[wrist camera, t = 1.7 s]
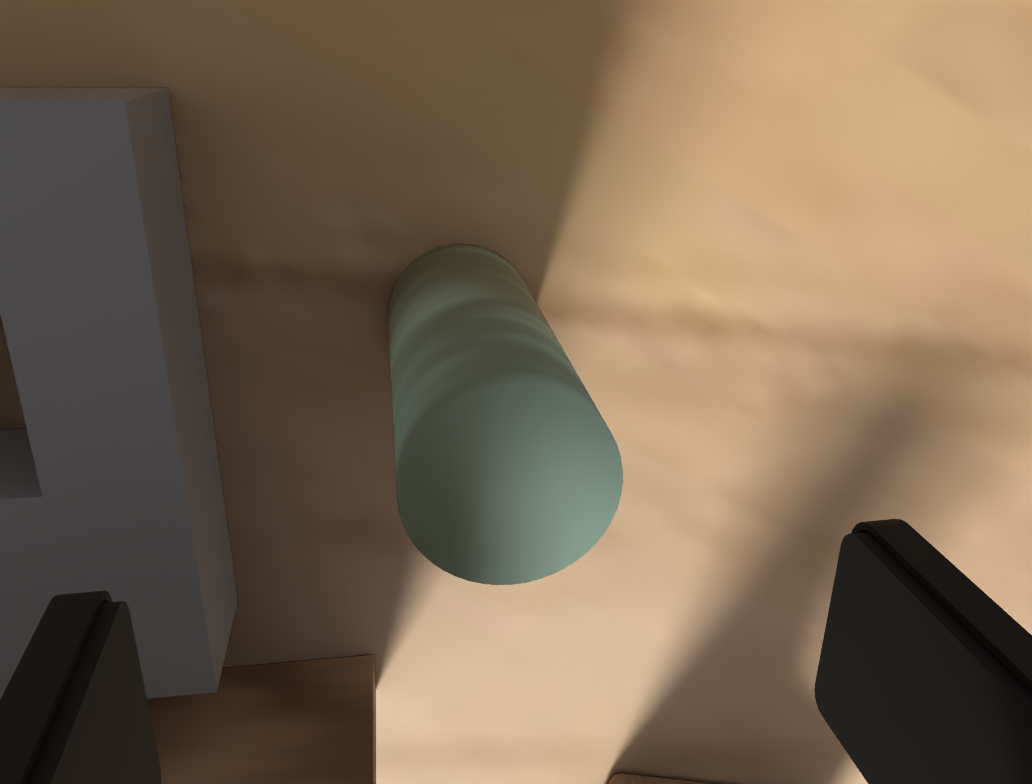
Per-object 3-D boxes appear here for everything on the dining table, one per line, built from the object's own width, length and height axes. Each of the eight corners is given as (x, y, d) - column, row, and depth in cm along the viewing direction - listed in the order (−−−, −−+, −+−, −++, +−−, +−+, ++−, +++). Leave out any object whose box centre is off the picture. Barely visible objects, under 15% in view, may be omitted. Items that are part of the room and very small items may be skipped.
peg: (532, 242, 24) (629, 378, 15) (529, 377, 25) (616, 576, 16) (384, 246, 23) (391, 389, 14) (391, 383, 25) (401, 593, 16)
